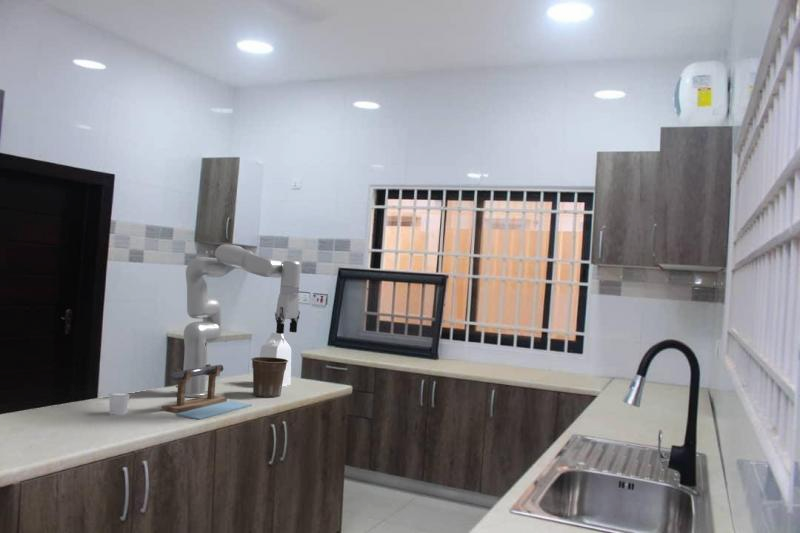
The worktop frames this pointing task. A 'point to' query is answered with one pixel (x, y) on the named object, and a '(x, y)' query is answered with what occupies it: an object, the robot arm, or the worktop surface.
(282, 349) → the milk
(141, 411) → the worktop surface
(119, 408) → the white cup
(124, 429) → the worktop surface
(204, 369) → the rod
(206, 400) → the rack
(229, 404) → the mat
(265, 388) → the plant pot
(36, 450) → the worktop surface
